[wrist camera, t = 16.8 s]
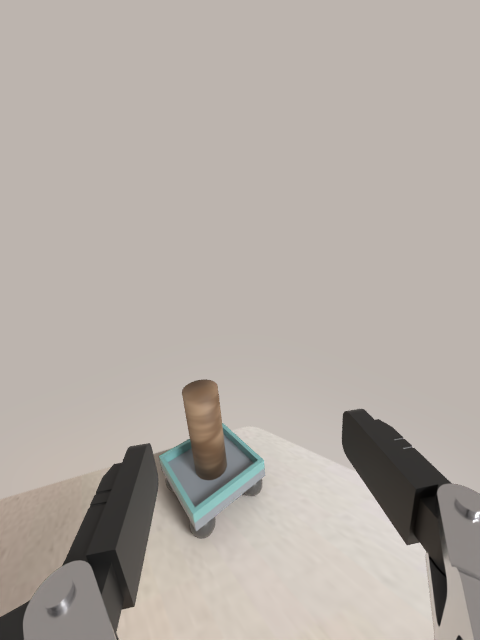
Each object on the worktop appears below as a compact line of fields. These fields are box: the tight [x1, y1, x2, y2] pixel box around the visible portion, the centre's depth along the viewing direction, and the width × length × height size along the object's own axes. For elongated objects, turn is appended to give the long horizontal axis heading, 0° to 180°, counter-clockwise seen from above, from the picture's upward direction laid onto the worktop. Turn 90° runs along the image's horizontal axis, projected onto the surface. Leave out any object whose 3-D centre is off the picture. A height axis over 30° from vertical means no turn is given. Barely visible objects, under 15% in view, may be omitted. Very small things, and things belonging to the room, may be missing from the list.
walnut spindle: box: [182, 380, 227, 480], centre depth 37 cm, size 5×5×14 cm
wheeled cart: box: [159, 423, 265, 539], centre depth 40 cm, size 12×12×6 cm
